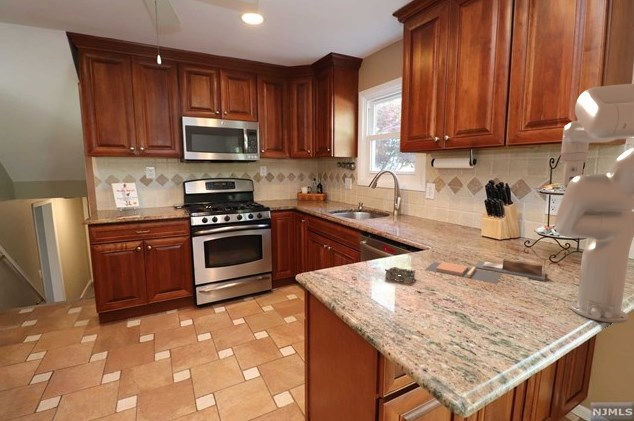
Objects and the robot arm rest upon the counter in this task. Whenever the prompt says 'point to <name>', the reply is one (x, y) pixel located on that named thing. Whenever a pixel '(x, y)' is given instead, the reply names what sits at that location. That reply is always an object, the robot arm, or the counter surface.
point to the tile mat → (471, 273)
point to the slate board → (512, 272)
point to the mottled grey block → (404, 274)
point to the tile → (452, 268)
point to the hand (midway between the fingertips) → (568, 204)
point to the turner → (516, 266)
